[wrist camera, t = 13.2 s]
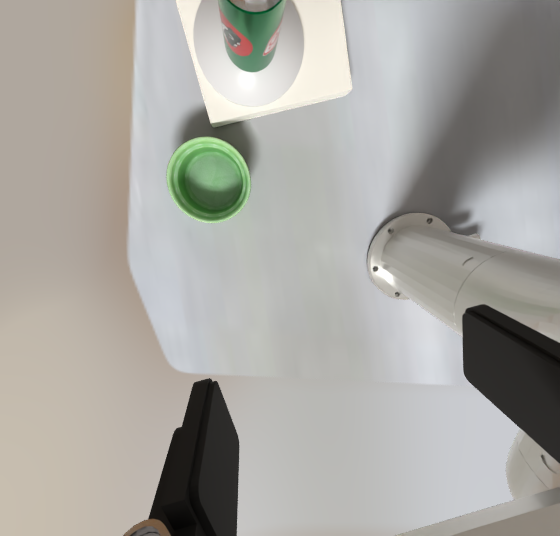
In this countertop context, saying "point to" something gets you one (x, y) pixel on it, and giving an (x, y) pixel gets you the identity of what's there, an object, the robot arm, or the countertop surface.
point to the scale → (282, 69)
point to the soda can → (251, 31)
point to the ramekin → (208, 179)
